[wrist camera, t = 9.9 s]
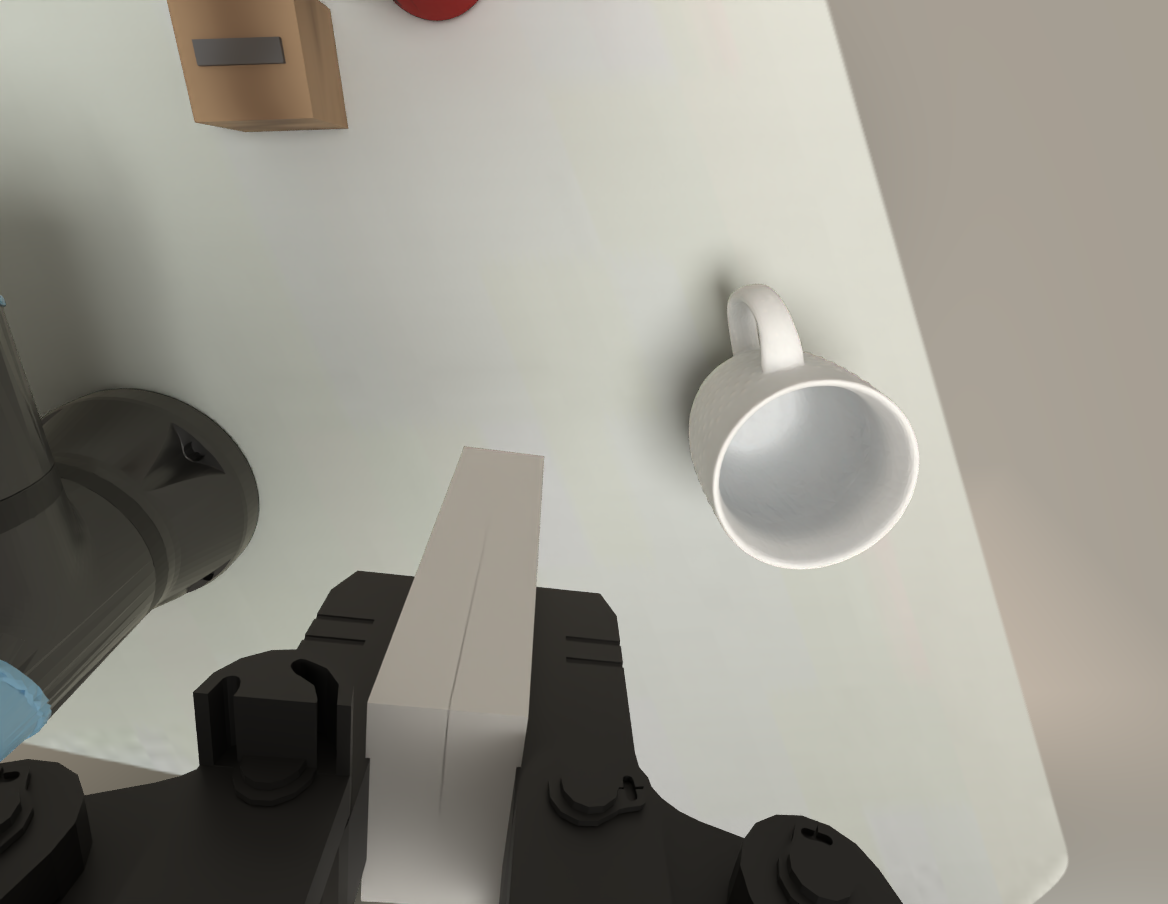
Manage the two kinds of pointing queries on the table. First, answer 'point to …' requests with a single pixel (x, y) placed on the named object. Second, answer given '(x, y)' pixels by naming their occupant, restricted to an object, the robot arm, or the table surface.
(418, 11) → the beverage can
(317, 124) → the wooden minus sign cube
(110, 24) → the table surface
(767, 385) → the mug
